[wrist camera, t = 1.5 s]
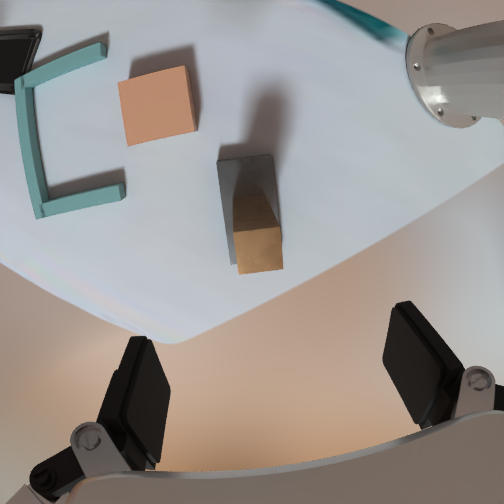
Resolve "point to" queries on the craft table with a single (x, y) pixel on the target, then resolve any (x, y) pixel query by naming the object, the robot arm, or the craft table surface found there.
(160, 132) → the tile
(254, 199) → the pusher
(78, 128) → the craft table surface
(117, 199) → the frame
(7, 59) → the phone
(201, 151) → the craft table surface
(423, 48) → the robot arm
